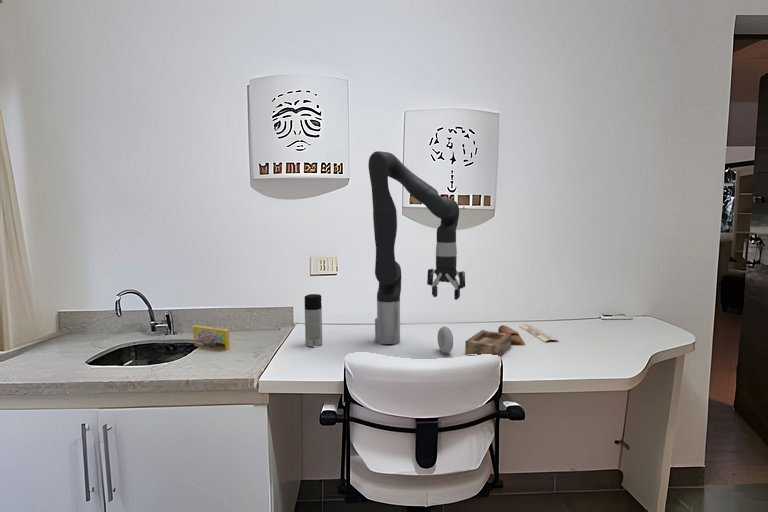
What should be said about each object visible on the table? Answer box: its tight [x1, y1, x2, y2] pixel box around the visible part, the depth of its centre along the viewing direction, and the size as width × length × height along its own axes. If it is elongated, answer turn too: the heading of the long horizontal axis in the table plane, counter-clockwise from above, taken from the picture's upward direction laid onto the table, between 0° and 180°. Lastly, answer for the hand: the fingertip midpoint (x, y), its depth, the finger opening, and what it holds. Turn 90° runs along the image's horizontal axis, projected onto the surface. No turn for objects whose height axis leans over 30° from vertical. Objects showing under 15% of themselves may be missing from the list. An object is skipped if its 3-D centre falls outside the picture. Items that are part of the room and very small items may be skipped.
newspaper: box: [518, 323, 560, 343], centre depth 192 cm, size 24×7×2 cm, turn 8°
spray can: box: [304, 293, 323, 348], centre depth 177 cm, size 7×7×20 cm
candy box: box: [192, 324, 231, 351], centre depth 174 cm, size 16×2×8 cm, turn 68°
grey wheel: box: [437, 326, 454, 355], centre depth 168 cm, size 10×4×10 cm, turn 15°
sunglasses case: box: [497, 324, 526, 347], centre depth 185 cm, size 18×7×7 cm
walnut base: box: [464, 329, 512, 358], centre depth 170 cm, size 12×17×5 cm
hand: (445, 298), depth 166 cm, fingers open, 8 cm apart
